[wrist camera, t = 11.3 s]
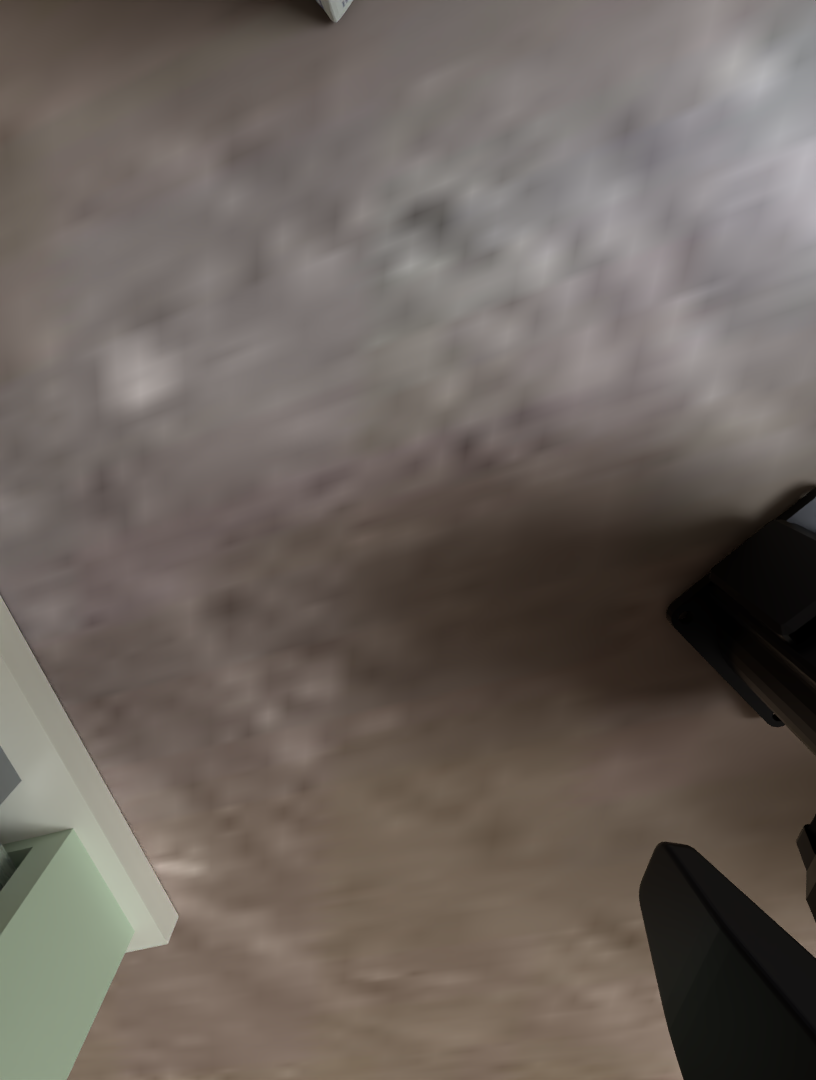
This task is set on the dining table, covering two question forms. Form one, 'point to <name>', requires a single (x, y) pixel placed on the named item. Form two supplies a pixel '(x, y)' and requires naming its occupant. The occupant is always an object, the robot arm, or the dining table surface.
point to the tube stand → (67, 790)
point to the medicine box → (335, 8)
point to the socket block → (54, 954)
